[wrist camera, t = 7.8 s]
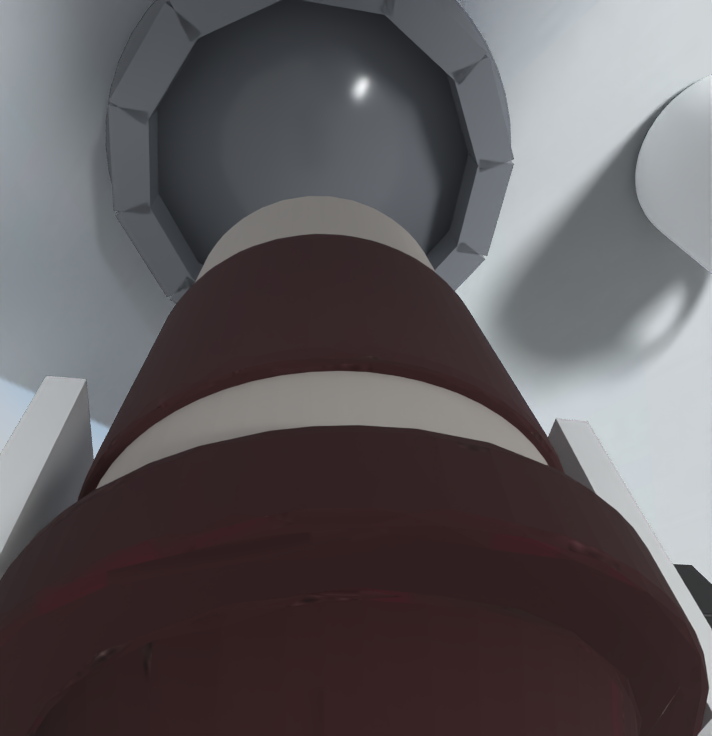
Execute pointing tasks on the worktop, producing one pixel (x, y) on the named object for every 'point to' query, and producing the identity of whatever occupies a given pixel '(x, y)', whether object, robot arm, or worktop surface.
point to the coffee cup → (336, 527)
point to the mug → (680, 172)
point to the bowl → (306, 124)
